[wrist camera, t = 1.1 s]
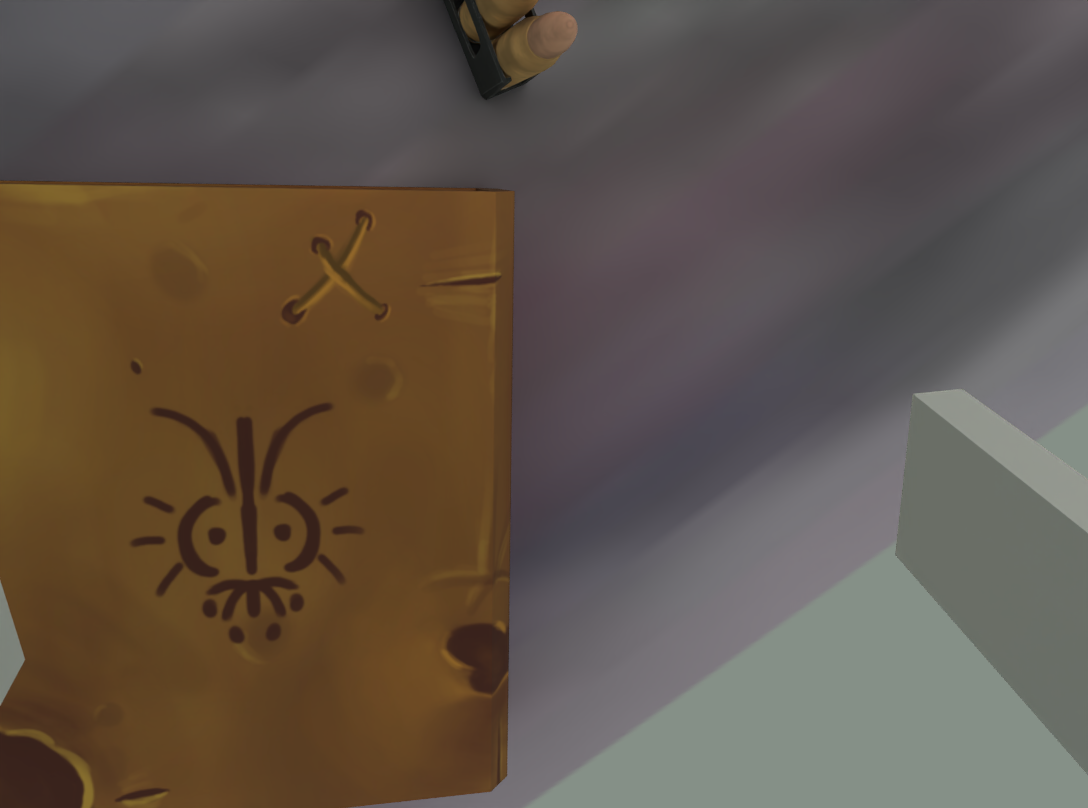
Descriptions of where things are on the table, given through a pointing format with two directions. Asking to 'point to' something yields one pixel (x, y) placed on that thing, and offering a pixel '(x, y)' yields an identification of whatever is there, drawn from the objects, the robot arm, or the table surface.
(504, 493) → the diary
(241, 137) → the table surface
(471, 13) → the ammunition clip
